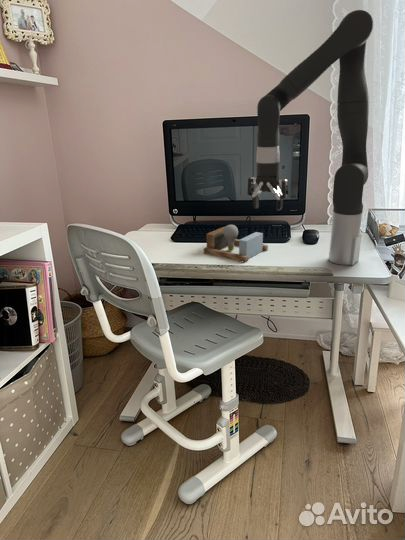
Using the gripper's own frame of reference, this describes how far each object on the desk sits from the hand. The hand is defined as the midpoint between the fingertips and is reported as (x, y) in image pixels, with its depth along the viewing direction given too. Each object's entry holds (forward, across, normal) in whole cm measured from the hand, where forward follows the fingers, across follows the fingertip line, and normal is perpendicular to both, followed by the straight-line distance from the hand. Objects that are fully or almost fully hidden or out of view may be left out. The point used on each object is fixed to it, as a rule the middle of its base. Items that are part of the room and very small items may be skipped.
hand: (267, 209), depth 146 cm
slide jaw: (+17, +6, 0) cm, 18 cm away
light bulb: (+18, +15, 0) cm, 23 cm away
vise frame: (+17, +13, 0) cm, 22 cm away
